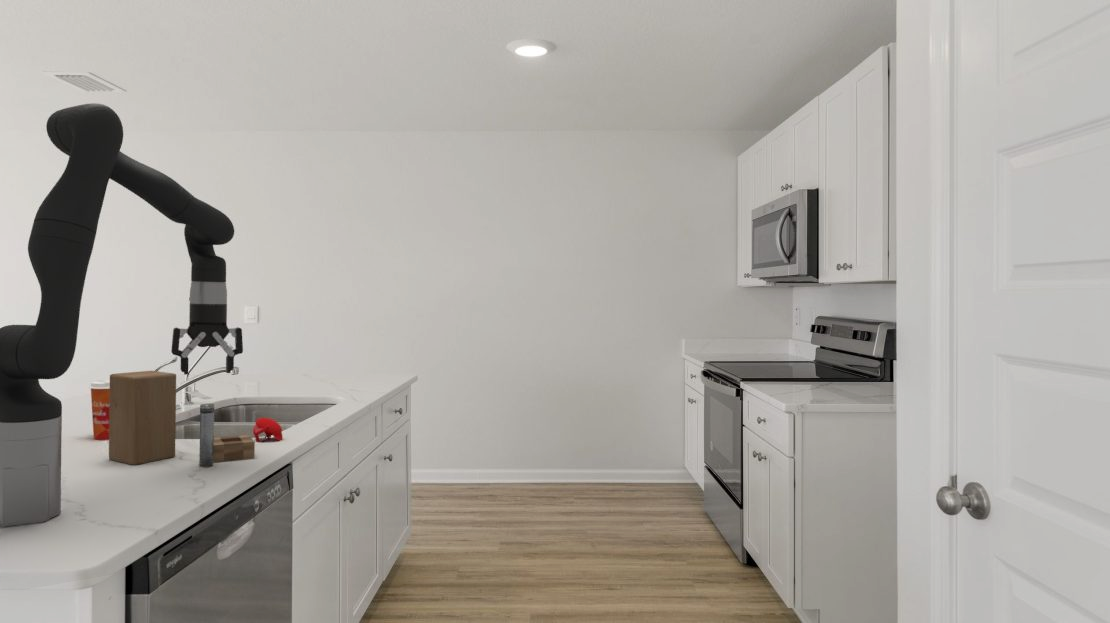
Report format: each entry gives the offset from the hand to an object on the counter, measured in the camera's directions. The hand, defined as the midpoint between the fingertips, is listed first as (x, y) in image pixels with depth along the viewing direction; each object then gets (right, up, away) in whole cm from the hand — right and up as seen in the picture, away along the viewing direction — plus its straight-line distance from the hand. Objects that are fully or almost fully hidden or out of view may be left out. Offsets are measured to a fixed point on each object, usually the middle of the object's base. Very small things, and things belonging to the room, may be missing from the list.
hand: (207, 373), depth 152 cm
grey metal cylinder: (0, -21, 0) cm, 21 cm away
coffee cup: (-40, -20, +26) cm, 52 cm away
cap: (+2, -21, +28) cm, 35 cm away
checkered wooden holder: (+1, -21, +10) cm, 23 cm away
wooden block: (-18, -21, +6) cm, 28 cm away
